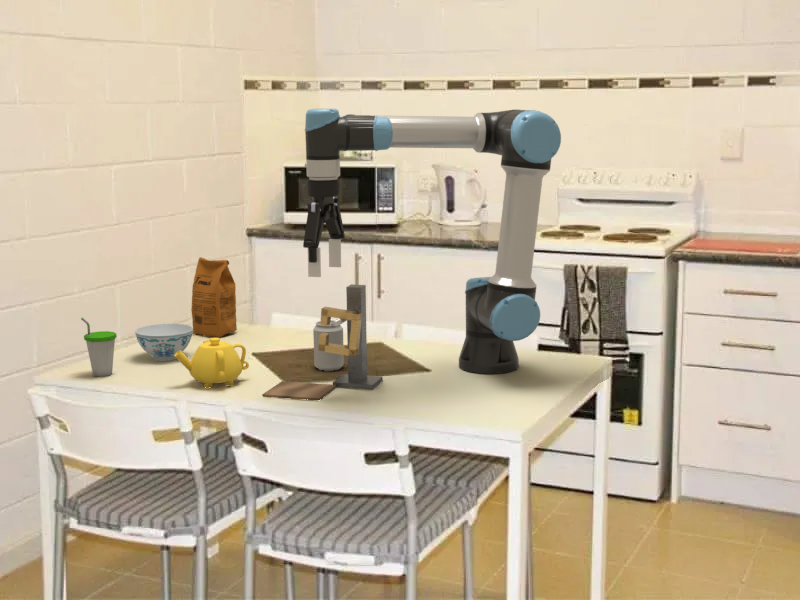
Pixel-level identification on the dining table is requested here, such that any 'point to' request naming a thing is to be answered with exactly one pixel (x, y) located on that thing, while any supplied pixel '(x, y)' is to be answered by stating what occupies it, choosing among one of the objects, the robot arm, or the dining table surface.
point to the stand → (358, 364)
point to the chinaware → (164, 339)
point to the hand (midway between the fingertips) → (325, 271)
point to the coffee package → (213, 299)
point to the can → (327, 359)
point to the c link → (354, 335)
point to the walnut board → (299, 390)
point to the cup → (100, 351)
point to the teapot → (215, 362)
